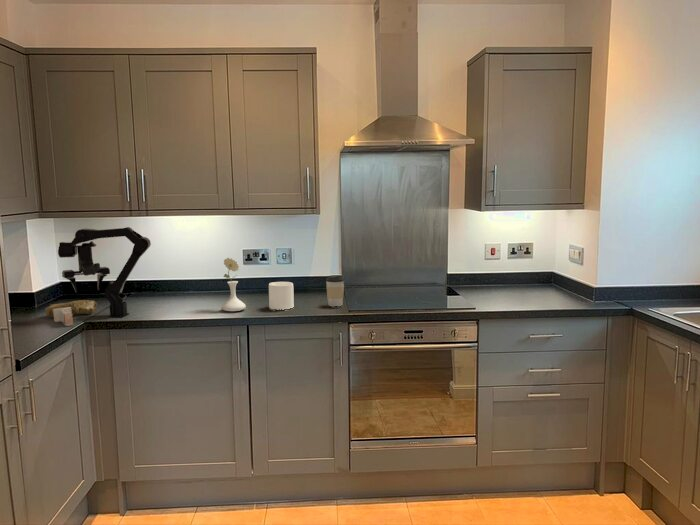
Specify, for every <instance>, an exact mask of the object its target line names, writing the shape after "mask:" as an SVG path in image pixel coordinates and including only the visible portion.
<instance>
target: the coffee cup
mask: <svg viewBox="0 0 700 525" xmlns="http://www.w3.org/2000/svg"><path fill="white" fill-rule="evenodd" d="M325 282H326V286H325V287H326V295H327V302H328V303H327V305H329V306H341V305H342V306H343V302H344V300H343V298H344V293H345V292H344V291H345V290H344V289H345V283H344V282H345V278H344V277H343V276H342V275H339V274H337V275H336V274H335V275H328V276H327V277H326V280H325ZM329 306H328V307H329ZM342 306H341V307H342Z"/></svg>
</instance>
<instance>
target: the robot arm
mask: <svg viewBox="0 0 700 525" xmlns="http://www.w3.org/2000/svg"><path fill="white" fill-rule="evenodd" d="M117 237H118V238H120V237H125V238H127V240H128V241H129V242H131V244H133V247H132V252H131V254H130V256H129V257H128V258H127V261H126V262H125V264H124V266H123V268H122V270H121V271H119V274H118V276H117V278H116V279H115V281H114V280H111V281H109V282H108V285H107V287H106V288H105V289H104V296H105V298H106V300H108V301H109V305H110V306H109V315H108V318H123V317H126V316H129V315H130V313H129V312H128V305H127V301H126V300H127V297H128V296H127V295H126V293H124V292H123V289H124V287H125V284H126V282H127V280H128V278H129V277H130V274H131V273H132V271H133V269H134V268H135V267H136V264H137V263H138V262H139V260H140V258H141V257H142V256H143V255H144V254H145V253H146V251H148V249H149V248H150V247H151V245H152V243H151V240H150V238H148V237H146V236H142V235H141V234H140V233H138V232H137V231H135V230H134V229H133V228H131V227H130V226H128V227H127V226H126V227H120V228H119V227H118V228H107V229H95V228H80V229H77V230H76V232H75V234H74V238H73V239H72V241H71V242H66V241H60V242H59V243H58V244H59V246H58V250H57V255H58V257H59V258H75V256H77V260H78V270H73V269H67V270H66V269H65V270H62V271H61V273H62V276H61V277H63V279H66V280H68V281H70V283H71V285H72V287H73V289H74V292H75V293H78V287H77V283H76V282H77V281H76V277H75V276H81V275H82V276H90V275H92V276H95V275H96V276H97V280H96V281H97V290H98V291H100V288H101V285H102V283H103V279H104V278H105V277H107V276H108V275H110V274H111V270H110V268H109V267H107V266H101V265H100V262H95V263H94V259H93V251H92V250H93V249H92V248H95V247H97V244H96V243H94V241H95V240H97V239H104V238H105V239H107V238H117ZM79 244H80V245H79Z"/></svg>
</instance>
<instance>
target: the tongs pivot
mask: <svg viewBox="0 0 700 525" xmlns="http://www.w3.org/2000/svg"><path fill="white" fill-rule="evenodd" d="M61 309H67V310H69V311H70V312H71V313H72V310H71V307H65V308H57V309H53V312H54V317H53V321H54V322H55V323H58V322H61V321H60V310H61Z"/></svg>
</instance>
